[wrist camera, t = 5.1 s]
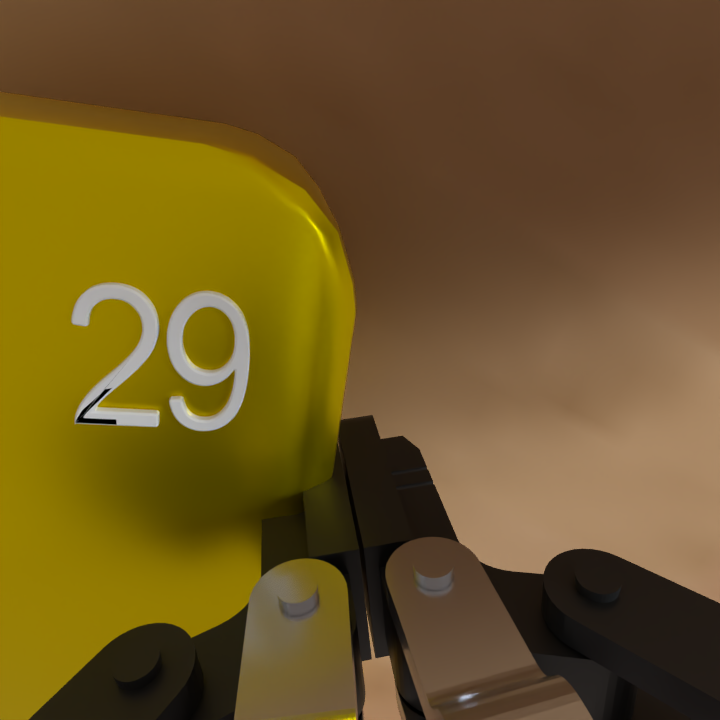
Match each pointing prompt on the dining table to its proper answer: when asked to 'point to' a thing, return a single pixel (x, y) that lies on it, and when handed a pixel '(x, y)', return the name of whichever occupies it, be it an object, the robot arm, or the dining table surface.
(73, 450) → the element tile
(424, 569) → the robot arm
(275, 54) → the dining table surface
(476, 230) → the dining table surface
